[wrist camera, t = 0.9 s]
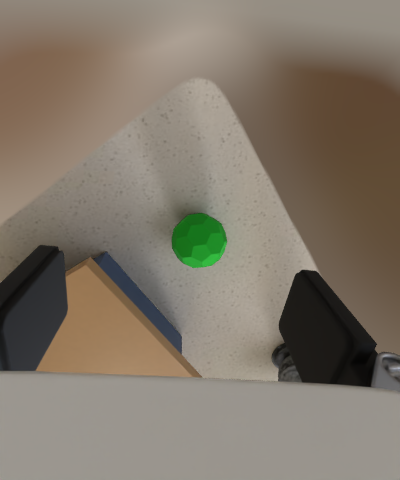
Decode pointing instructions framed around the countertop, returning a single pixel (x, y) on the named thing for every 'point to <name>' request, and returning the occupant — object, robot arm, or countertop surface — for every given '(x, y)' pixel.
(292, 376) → the grey stone figurine
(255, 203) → the countertop surface
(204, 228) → the polyhedron
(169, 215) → the countertop surface
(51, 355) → the board box
